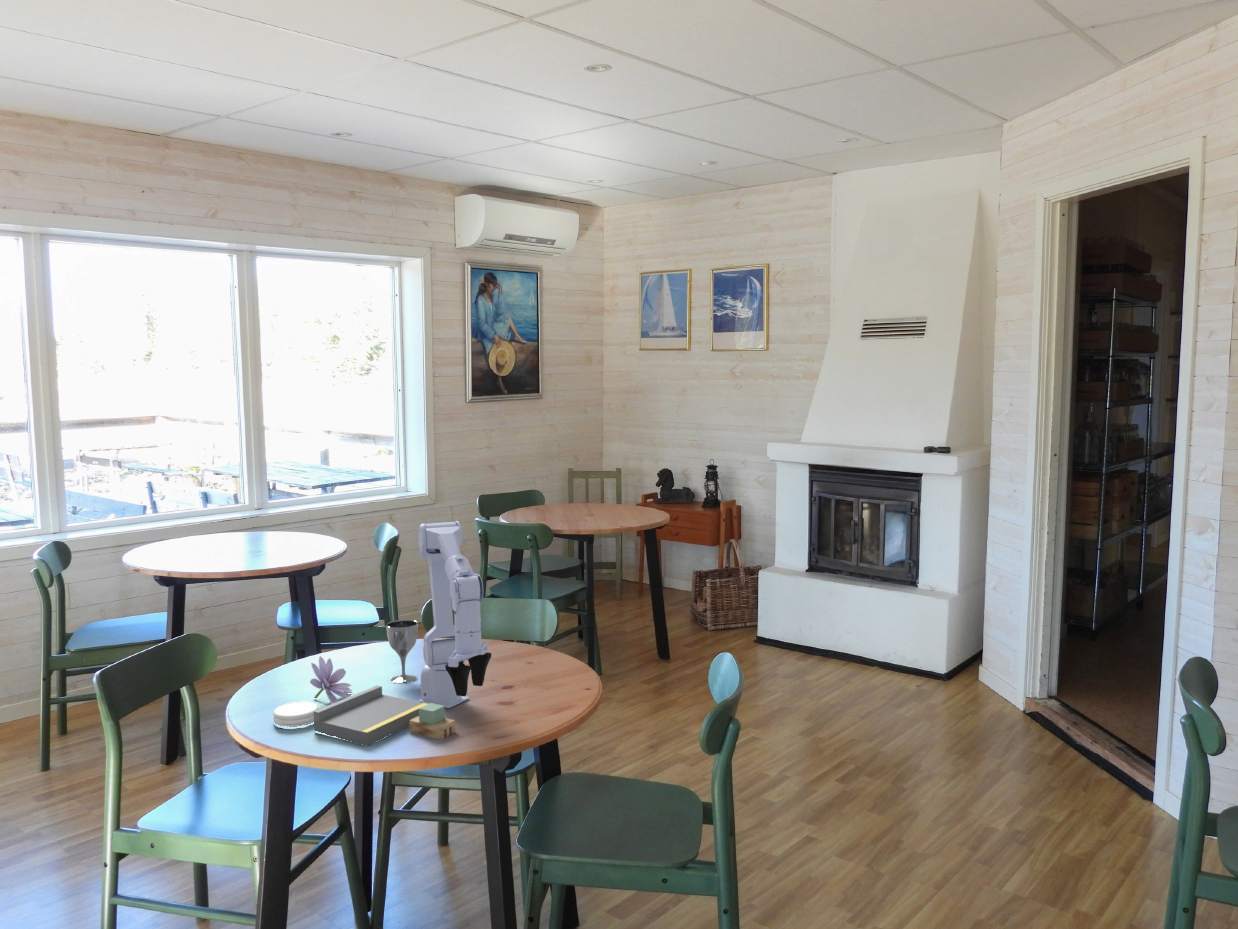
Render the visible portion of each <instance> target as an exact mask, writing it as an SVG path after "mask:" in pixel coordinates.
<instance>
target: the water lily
mask: <svg viewBox="0 0 1238 929" xmlns="http://www.w3.org/2000/svg"><path fill="white" fill-rule="evenodd" d="M311 669H312V670H313V673H314V675H315V677H316V678H311V680H310V681H309V683H310V685H312V686H313V687H315V688H317V689H319V691H318V692H317V693H316V695H315V696H314V697H313V698H318V697H319V696H320V695H321V693H322V692H323V691H325V693H326V696H327V699H328V700H329V702H330V703H331V704H333V703H335V702H338V701H339V700H338V698H337V696H338V697H341V698H343V699H345V698H348V697H350V694H348V693H353V692H352V691H353V690H352V689H351V687H352V684H350V683H347V682H340V681H341V680H342V679H343V678H344V677H345V676H346V673H347V672H346V670H345V668H339V669H338V668H337V669H336V670H335V671H334V672H333V670H334V665H333V661H332V659H331V657H329V658H328V659H327V661H325V660H324V658H323V657H322V656H319V657H318V665H316V664H315V663H313V662H312V663H311Z"/></svg>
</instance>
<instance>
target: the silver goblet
mask: <svg viewBox="0 0 1238 929" xmlns="http://www.w3.org/2000/svg"><path fill="white" fill-rule="evenodd" d="M418 630H419V624H418V621H417V620H413V619H398V620H392V621H389V622H388V623H387V624H386V635H387V640H388V643H389V644H388V645H389V646H390V648H392V650H393V651H394V652H395V653H396V654H397V655H398V656H399V659H400V663H401V674H400V676H399V675H395V676H393V677H391V678H392V679H391V678H390V679H391V681H393V682H397V683H405V684H408V683H407V682H411V681H414V682H416V681H417V680H418V679H416V678H418V676H417V675H414V674H406V659H407V656H408V654H409V653H410V652H411V651H412V649H414V647H415V645H416V643H417V639H418V633H419V631H418ZM413 675H414V676H413ZM415 680H416V681H415ZM411 683H412V682H411Z"/></svg>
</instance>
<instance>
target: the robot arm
mask: <svg viewBox="0 0 1238 929" xmlns="http://www.w3.org/2000/svg"><path fill="white" fill-rule="evenodd" d="M417 540H418V551H419V554H420V558H422V559H424V560H427V561H426V562H427V565H428V569H429V570H428V571H429V582H430V593H431V594H430V595H431V602H432V603H431V604H432V606H431V607H432V616H433V627H432V628H431V629H429V630H428V632H427V633H425V634H424V637H423V648H422V649H423V650H422V651H423V660H424V664H425V665H424V667H423V668H422V670H421V674H420V695H421V698H420V699H419V701H418V702H420V703H427V704H430V703H433V704H438V705H443V706H445V709H451V708H453V707H455V706H457V705H459V704H461V703H462V702H463V703H464V702H466V701H468V700H469V699H470V696H468V694H467V693H468V683H469V677H471V682H472V685H473V686H475V687H483V685H484V681H485V677H486V671H487V668H488V665H489V662H490V660H491V659H492V652H489V651H488V650H489V644H488V641H482V626H481V623H482V622H481V621H482V619H481V618H482V617H481V616H482V615H481V602H480V601H482V600H483V598H484V584H483V579H482V577H481V575H480V574H478V573H476V572H474V570H473V568H472V566H471V563H470V561H469V559H468V557H466V556H464V555H462V553H461V548H460V547H461V545H462V544H463V526H462V524H461V522H460V521H458V520H454V521H450V522H433V523H421V524H420V525H419V526H418V532H417ZM453 611H454V612H453ZM453 615H454V616H453ZM450 637H451V638H450ZM452 637H454V638H452ZM441 638H444V639H441ZM436 639H438V640H436ZM487 651H488V652H487ZM466 661H467V662H468V664H469V665H467V664H466V663H465V662H466ZM470 675H471V676H470Z"/></svg>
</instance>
